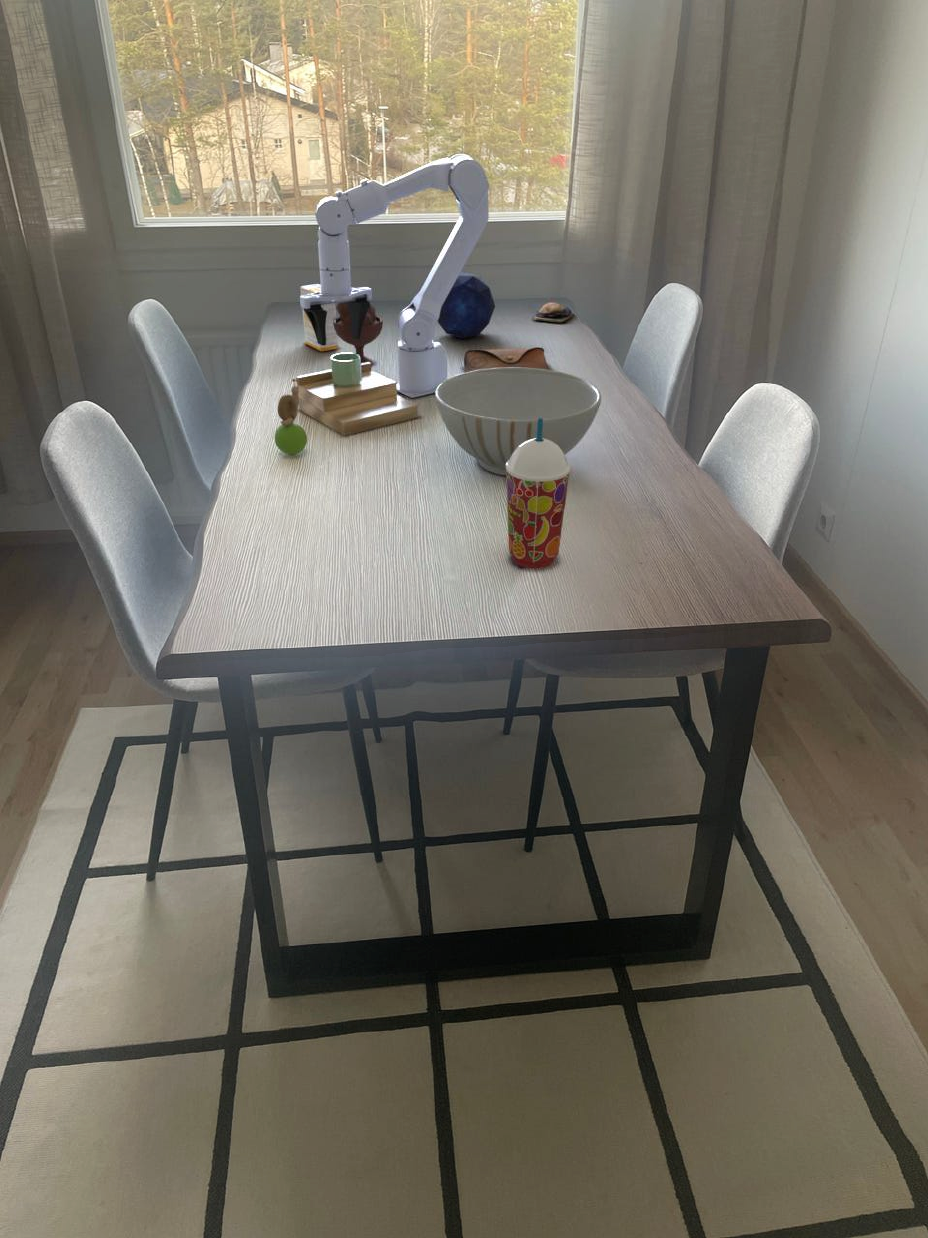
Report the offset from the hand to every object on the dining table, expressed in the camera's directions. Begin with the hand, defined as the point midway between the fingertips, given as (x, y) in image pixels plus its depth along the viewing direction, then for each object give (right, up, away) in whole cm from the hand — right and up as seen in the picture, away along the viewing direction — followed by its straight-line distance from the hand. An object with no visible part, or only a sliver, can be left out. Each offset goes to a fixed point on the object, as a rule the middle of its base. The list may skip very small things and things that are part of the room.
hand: (339, 341), depth 180 cm
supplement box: (-9, +9, +34) cm, 36 cm away
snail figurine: (-5, -26, -21) cm, 33 cm away
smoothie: (+34, -46, -53) cm, 78 cm away
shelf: (+4, -15, -5) cm, 16 cm away
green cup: (+2, -9, -5) cm, 11 cm away
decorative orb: (+24, +14, +42) cm, 51 cm away
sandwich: (+47, +23, +57) cm, 77 cm away
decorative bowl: (+33, -28, -24) cm, 50 cm away
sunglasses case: (+34, -1, +19) cm, 39 cm away
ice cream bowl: (+2, +2, +22) cm, 23 cm away
